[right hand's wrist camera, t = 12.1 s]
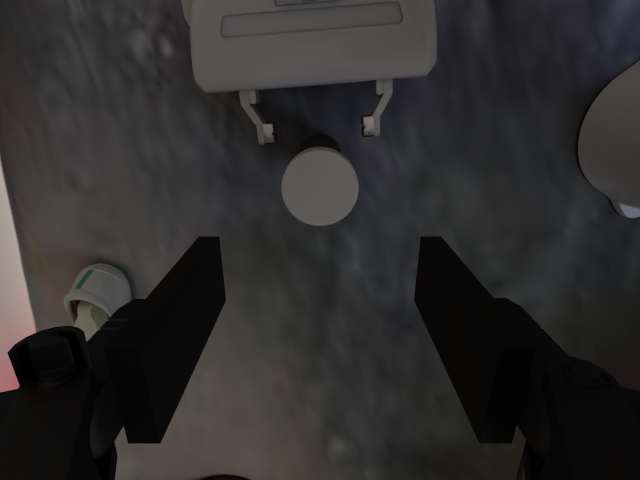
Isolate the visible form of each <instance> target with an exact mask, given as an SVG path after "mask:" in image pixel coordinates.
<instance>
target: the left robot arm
mask: <svg viewBox="0 0 640 480" xmlns="http://www.w3.org/2000/svg"><path fill="white" fill-rule="evenodd" d="M181 3H182V9H183V15H184V19H185V21H186V23H187V25H188V26H189V28H190V46H191V59H192V68H193V75H194V80H195V82H196V84H197V85H198V86H199V87H200V88H201V89H202V90H203V91H204V92H206V93H224V92H237V91H239V95H240V103H241V106H242V107H243V109H244V110H245V112H246V113H247V114H248V116H249V117H250V119H251V120H252V121H253V123H254V124H255V125H256V126H257V134H258V142H259V144H260V145H263V144H274V143H276V142H277V137H276V134H275V133H274V132H275V130H276V128H275V122H272V123H266V121H265V120H264V118H263V117H262V115H261V114H260V112H259V111H258V109H257V108H256V107H255V105H254V104H258V103H260V97H259V90H263V89H276V88H289V87H301V86H314V85H327V84H340V83H353V82H366V81H373V94H380V95H379V97H378V99H377V101H376V103H375V105H374V107H373V109H372V111H371V113H370V115H365V116H361V123H362V125H363V127H362V136H363V137H371V136H379V135H380V115H382V113H383V111H384V109H385V107H386V105H387V103H388V101H389V99H390V97H391V96H392V84H393V79H405V78H417V77H424V76H426V75H428V73H429V72H430V71H431V69H432V68H433V67H434V65H435V63H436V59H437V24H436V11H435V1H434V0H181ZM578 158H579V163H580V167H581V169H582V172H583V174H584V176H585V177H586V179H587V180H588V181H589V182H590V184H591V185H592V186H594V187H595V188H596V189H597V190H599V191H600V192H602V193H604V194H605V195H606V196H608V197H609V198H610V199H611V202H612V204H613V206H614V208H615V210H616V211H617V213H618V214H619V215H621V216H624V217H628V218H636V217H640V60H639V61H638V62H637V63H635V64H634V65H633V66H631V67H630V68H629V69H627V70H626V71H624V72H623V73H621V74H620V75H619V76H617V77H616V78H615V79H614V80H612V81H611V82H610V83H609V84H608V85H607V86H606V87H605V88H604V89H603V90H602V92H601V93H600V94H599V95H598V96H597V98H596V99H595V101H594V102H593V104H592V105H591V107H590V108H589V110H588V112H587V114H586V116H585V119H584V121H583V124H582V127H581V130H580V134H579V140H578Z"/></svg>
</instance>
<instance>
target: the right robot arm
mask: <svg viewBox="0 0 640 480" xmlns="http://www.w3.org/2000/svg"><path fill="white" fill-rule="evenodd" d="M225 301H226V297H225V287H224V278H223V268H222V259H221V249H220V240H219V237H198V238H197V239H196V241H195V242H194V243H193V244H192V245H191V247H190V248H189V249H188V250H187V251H186V252H185V254H184V255H183V256H182V257H181V258H180V259H179V261H178V262H177V263H176V264H175V265H174V266H173V268H172V269H171V270H170V271H169V272H168V274H167V275H166V276H165V277H164V278H163V279H162V281H161V282H160V283H159V284H158V285H157V286H156V288H155V289H154V290H153V291H152V292H151V293H150V295H149V296H148V297H147V298H146V299H133V300H132V301H130V302H128V303H127V304H125V305H123V306H121V307H120V308H118V309H117V310H116V311H115V312H114V314H113V315H112V316H111V317H110V318H109V319H108V321H106V322H105V323H104V324H103V325H102V326H101V327H100V330H97V332H96V333H95V334H94V335H93V336H92V337H91V338H90V339H89V340H88V341H86V337H85V334H84V331H83V330H81V329H80V328H78V327H72V326H62V327H54V328H50V329H46V330H43V331H39V332H37V333H35V334H33V335H30V336H28V337H26V338H24V339H23V340H21V341H20V342H18V343H17V344H15V345H14V346H13V347H12V348H11V349H10V351H9V352H8V355H9V358H10V360H11V363H12V366H13V369H14V371H15V374H16V377H17V379H18V382H19V385H20V386H19V388H18V389H15V390H10V391H6V392H1V393H0V480H115V473H116V464H117V451H116V447H115V443H114V441H115V439H116V437H117V436H118V434H119V432H120V431H121V429H122V427H123V426H124V428H125V432H126V436H127V440H128V443H161V441H162V439H163V437H164V434H165V432H166V430H167V428H168V426H169V423H170V421H171V419H172V417H173V415H174V412H175V410H176V408H177V406H178V404H179V402H180V399H181V397H182V395H183V393H184V391H185V388H186V386H187V384H188V382H189V380H190V378H191V375H192V373H193V371H194V369H195V367H196V364H197V362H198V360H199V358H200V356H201V353H202V351H203V349H204V347H205V345H206V343H207V340H208V338H209V336H210V334H211V332H212V329H213V327H214V325H215V323H216V321H217V319H218V316H219V314H220V312H221V310H222V308H223V305H224V303H225ZM414 301H415V303H416V305H417V308H418V310H419V312H420V314H421V316H422V319H423V321H424V323H425V325H426V327H427V329H428V332H429V334H430V336H431V338H432V340H433V343H434V345H435V347H436V349H437V351H438V354H439V356H440V358H441V360H442V362H443V364H444V367H445V369H446V371H447V373H448V375H449V378H450V380H451V382H452V384H453V386H454V388H455V391H456V393H457V395H458V397H459V399H460V402H461V404H462V406H463V408H464V410H465V412H466V415H467V417H468V419H469V421H470V423H471V426H472V428H473V430H474V432H475V434H476V437H477V439H478V441H479V443H512V440H513V436H514V432H515V428H516V425H518V427H519V429H520V430H521V432H522V434H523V435H524V437H525V439H526V443H525V447H524V450H523V454H522V457H521V461H520V465H519V468H518V472H517V478H516V480H522V478H523V475H524V473H525V480H640V391H638V390H633V389H628V388H624V387H621V386H620V384H619V383H618V382H617V380H616V379H615V378H614V376H612V375H611V374H610V373H608V372H607V371H606V370H604V369H603V368H601V367H599V366H597V365H595V364H593V363H591V362H589V361H585V360H582V359H579V358H575V357H569V356H568V355H567V354H566V353H565V352H564V351H563V350H562V349H561V348H560V347H559V346H558V345H557V344H556V342H555V341H554V340H553V339H552V338H551V337H550V336H549V335H548V334H547V333H546V332H545V331H544V330H543V329H541V328H540V326H539V325H538V324H537V322H536V321H535V320H532V317H531V316H530V315H529V314H528V313H527V312H526V311H525V310H524V309H523V308H522V307H521V306H519V305H518V304H516V303H514V302H512V301H511V300H509V299H507V298H493V297H492V296H491V295H490V293H489V292H488V291H487V290H486V289H485V288H484V286H483V285H482V284H481V283H480V282H479V281H478V279H477V278H476V277H475V276H474V275H473V274H472V272H471V271H470V270H469V269H468V268H467V266H466V265H465V264H464V263H463V262H462V261H461V259H460V258H459V257H458V256H457V255H456V254H455V252H454V251H453V250H452V249H451V248H450V247H449V245H448V244H447V243H446V242H445V241H444V239H443V238H442V237H421V240H420V249H419V259H418V268H417V278H416V287H415V297H414ZM203 480H247V479H243V478H240V477H234V476H214V477H209V478H206V479H203Z"/></svg>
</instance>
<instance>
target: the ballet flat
mask: <svg viewBox="0 0 640 480" xmlns="http://www.w3.org/2000/svg"><path fill="white" fill-rule="evenodd" d="M130 301H132V299H131V289H130V285H129V283H128V280H127V278H126V275H125V273H124V272H123V271H122V270H121V269H120V268H118V267H116V266H113V265H108V264H101V263H99V264H93V265H90V266H88V267H86V268H84V269H83V270H82V271H81V272H80V273H79V274H78V276H77V277H76V280H75V281H74V283H73V286H72V287H71V289H70V291H69V293H67V294H66V296H65V298H64V307H65V309H66V312H67V314H68V316H69V318H70V320H71V322H72V323H73V326H74V327H78V328H80V329H81V330H83V331H84V334H85V337H86V341H88V340H89V339H90V338H91V337H92V336H93V335H94V334H95V333H96V332H97V330H100V327H101V326H102V325H103V324H104V323H105V322H106V321H108V319H109V318H110V317H111V316H112V315H113V314H114V312H115V311H116V310H117V309H118V308H120V307H121V306H123V305H125V304H127V303H128V302H130Z"/></svg>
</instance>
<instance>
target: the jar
mask: <svg viewBox="0 0 640 480" xmlns="http://www.w3.org/2000/svg"><path fill="white" fill-rule="evenodd" d="M313 147H327V148H331V149H334V150H336V151H338V152H340V153H341V150H340V148H339V146H338V144H337V142H336V141H335V140H334V139H333V138H331V137H329V136H327V135H323V134H317V135H313V136H311V137H309V138H308V139H306V140H305V141H304V142H303V144H302V145H301V148H300V150H299V153H300V152H302V151H304V150H306V149H309V148H313ZM299 153H298V154H299ZM341 154H342V153H341Z"/></svg>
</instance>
